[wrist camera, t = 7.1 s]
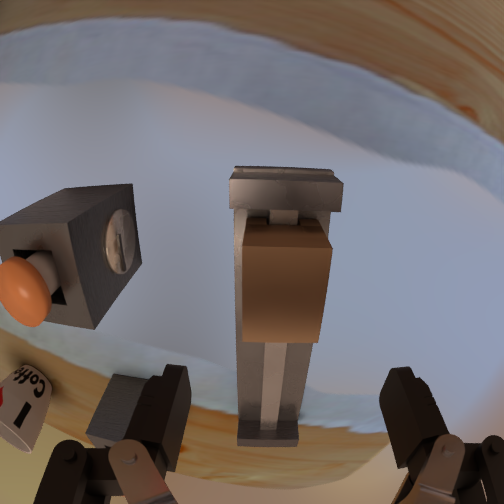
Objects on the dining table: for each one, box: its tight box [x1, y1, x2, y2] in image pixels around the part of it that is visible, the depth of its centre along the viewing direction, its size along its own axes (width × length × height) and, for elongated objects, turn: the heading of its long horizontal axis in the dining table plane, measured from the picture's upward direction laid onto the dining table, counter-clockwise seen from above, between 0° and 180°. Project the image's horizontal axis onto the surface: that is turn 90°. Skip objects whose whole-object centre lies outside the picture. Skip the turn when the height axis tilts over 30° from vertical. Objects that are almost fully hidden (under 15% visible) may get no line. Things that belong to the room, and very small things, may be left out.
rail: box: [229, 166, 343, 447], centre depth 22 cm, size 26×6×3 cm, turn 179°
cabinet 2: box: [85, 374, 148, 448], centre depth 25 cm, size 6×6×8 cm
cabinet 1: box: [0, 184, 142, 330], centre depth 17 cm, size 6×6×8 cm
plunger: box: [0, 250, 61, 327], centre depth 13 cm, size 4×4×4 cm
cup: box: [0, 365, 52, 454], centre depth 25 cm, size 8×8×10 cm
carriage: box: [242, 218, 333, 343], centre depth 18 cm, size 6×4×4 cm
